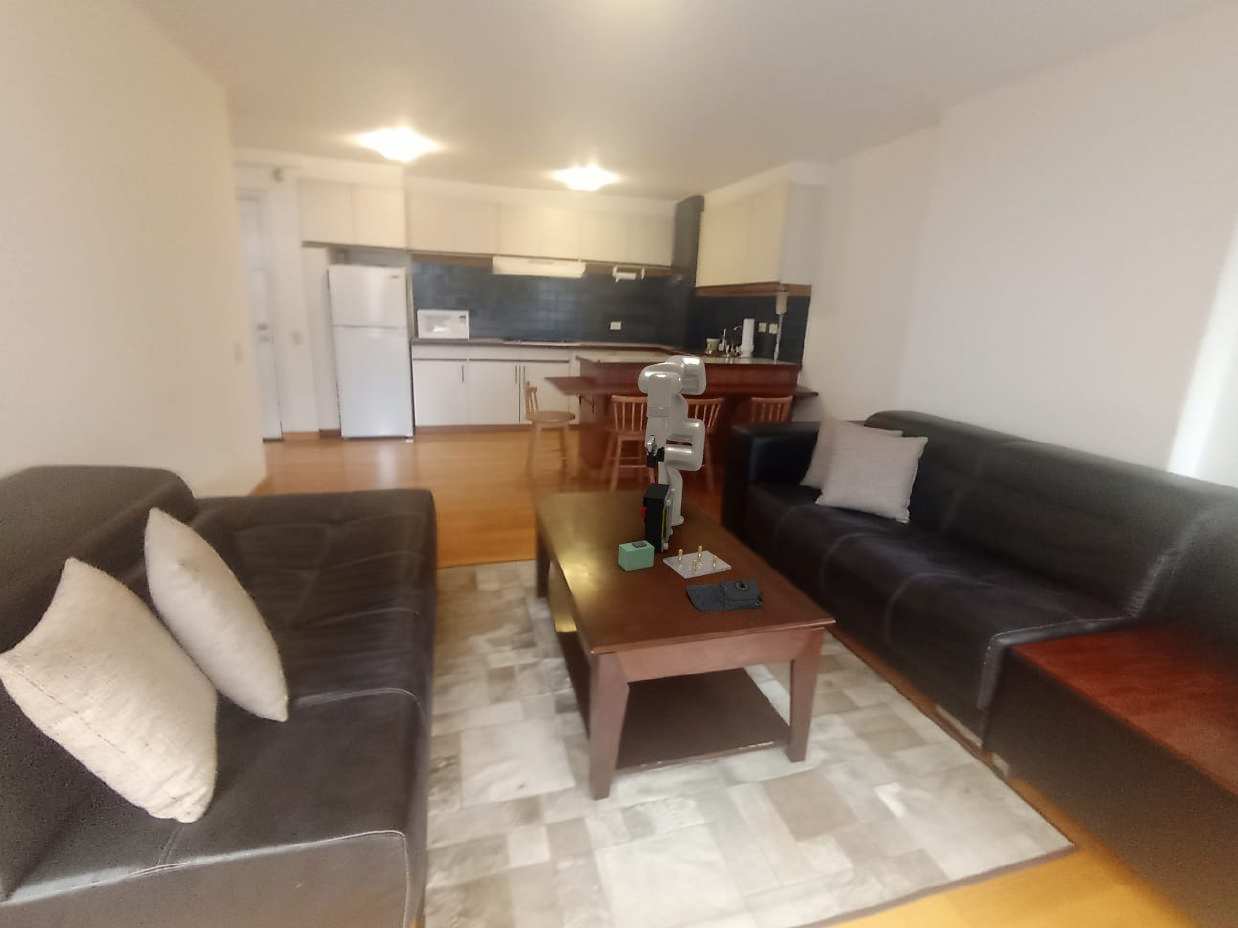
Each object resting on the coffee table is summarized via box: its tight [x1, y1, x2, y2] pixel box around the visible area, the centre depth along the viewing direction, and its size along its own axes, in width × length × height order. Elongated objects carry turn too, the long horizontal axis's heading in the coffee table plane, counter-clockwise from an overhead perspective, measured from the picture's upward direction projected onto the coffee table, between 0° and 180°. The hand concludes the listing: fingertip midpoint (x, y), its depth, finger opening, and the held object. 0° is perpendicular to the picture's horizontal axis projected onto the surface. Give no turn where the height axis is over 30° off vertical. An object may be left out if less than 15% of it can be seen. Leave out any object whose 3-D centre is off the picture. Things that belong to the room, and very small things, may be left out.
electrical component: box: [640, 482, 675, 554], centre depth 209 cm, size 18×10×20 cm, turn 168°
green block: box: [617, 540, 655, 572], centre depth 192 cm, size 6×10×8 cm, turn 116°
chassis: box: [662, 545, 732, 579], centre depth 193 cm, size 14×18×4 cm
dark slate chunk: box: [686, 578, 765, 613], centre depth 172 cm, size 15×22×5 cm
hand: (655, 464), depth 188 cm, fingers open, 9 cm apart
